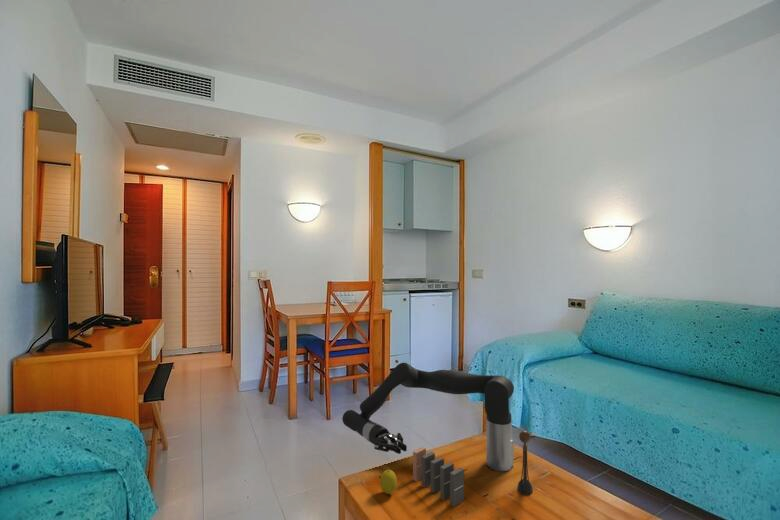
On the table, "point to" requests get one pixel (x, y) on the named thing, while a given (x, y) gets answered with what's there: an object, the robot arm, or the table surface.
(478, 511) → the table surface
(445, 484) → the charcoal domino
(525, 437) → the wooden tabletop sculpture
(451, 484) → the charcoal domino
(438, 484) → the charcoal domino
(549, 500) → the table surface
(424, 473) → the charcoal domino
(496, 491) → the table surface
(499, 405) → the robot arm
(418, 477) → the terracotta domino
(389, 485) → the lemon
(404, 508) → the table surface
